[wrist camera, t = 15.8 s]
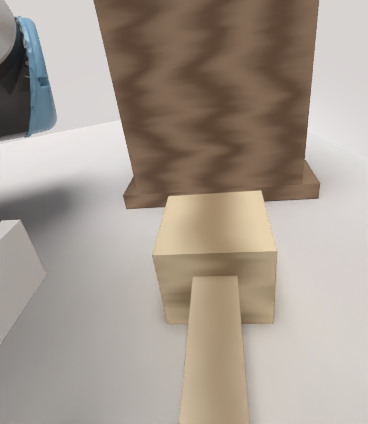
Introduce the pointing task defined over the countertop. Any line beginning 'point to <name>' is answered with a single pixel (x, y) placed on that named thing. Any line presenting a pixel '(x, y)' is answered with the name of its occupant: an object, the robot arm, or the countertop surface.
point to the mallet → (216, 294)
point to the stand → (212, 95)
